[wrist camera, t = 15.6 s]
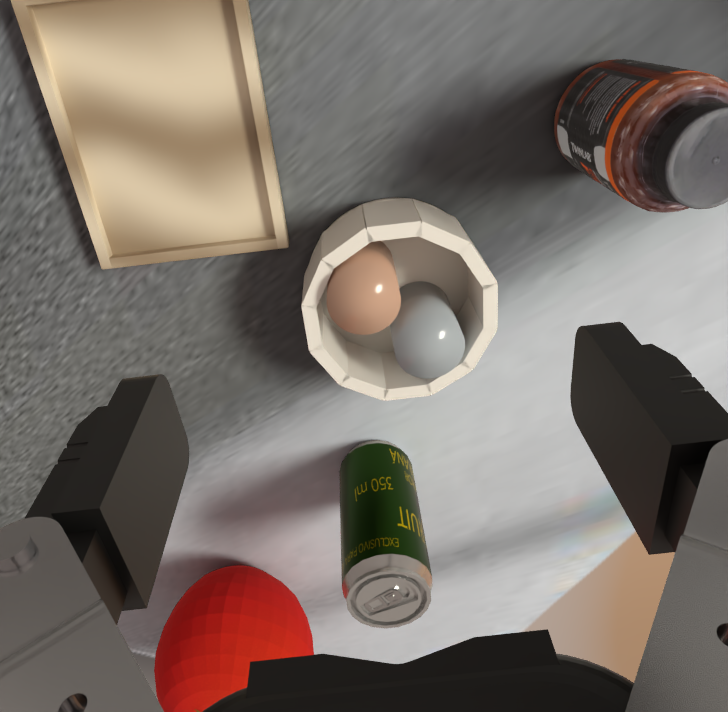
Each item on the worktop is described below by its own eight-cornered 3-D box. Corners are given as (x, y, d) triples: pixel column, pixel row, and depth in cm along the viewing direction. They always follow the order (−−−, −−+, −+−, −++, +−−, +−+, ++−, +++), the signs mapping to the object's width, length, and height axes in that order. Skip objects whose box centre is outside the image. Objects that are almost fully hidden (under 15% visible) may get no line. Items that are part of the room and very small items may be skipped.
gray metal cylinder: (384, 285, 38) (391, 321, 33) (448, 277, 38) (463, 311, 33) (390, 342, 40) (397, 382, 35) (451, 334, 40) (466, 373, 35)
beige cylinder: (326, 236, 36) (323, 268, 32) (393, 233, 36) (400, 265, 32) (330, 298, 38) (328, 336, 34) (394, 295, 38) (401, 333, 34)
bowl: (294, 208, 36) (289, 236, 31) (477, 187, 36) (498, 212, 31) (319, 366, 41) (318, 408, 37) (479, 347, 41) (497, 387, 37)
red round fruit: (160, 605, 52) (114, 767, 41) (201, 519, 47) (162, 675, 36) (283, 637, 55) (272, 797, 44) (333, 559, 50) (334, 715, 39)
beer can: (363, 503, 47) (373, 642, 37) (325, 458, 45) (323, 593, 34) (423, 472, 46) (451, 607, 36) (387, 424, 44) (405, 554, 33)
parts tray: (19, -7, 30) (8, -8, 29) (242, -34, 30) (239, -36, 29) (108, 261, 37) (102, 269, 36) (289, 240, 37) (288, 247, 36)
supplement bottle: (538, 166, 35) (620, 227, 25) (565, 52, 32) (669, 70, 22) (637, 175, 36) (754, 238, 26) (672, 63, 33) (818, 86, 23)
